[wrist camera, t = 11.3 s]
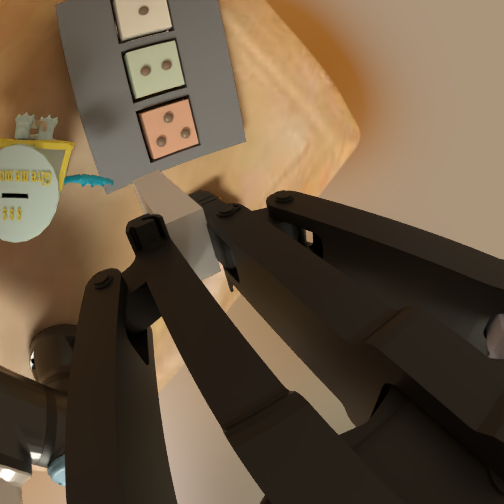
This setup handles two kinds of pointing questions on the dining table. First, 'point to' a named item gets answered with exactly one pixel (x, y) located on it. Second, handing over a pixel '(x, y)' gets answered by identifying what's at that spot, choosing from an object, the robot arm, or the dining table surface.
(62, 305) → the dining table surface
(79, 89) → the button board
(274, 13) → the dining table surface
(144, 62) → the tile two
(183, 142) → the tile three
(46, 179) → the character sculpture
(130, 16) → the tile one
